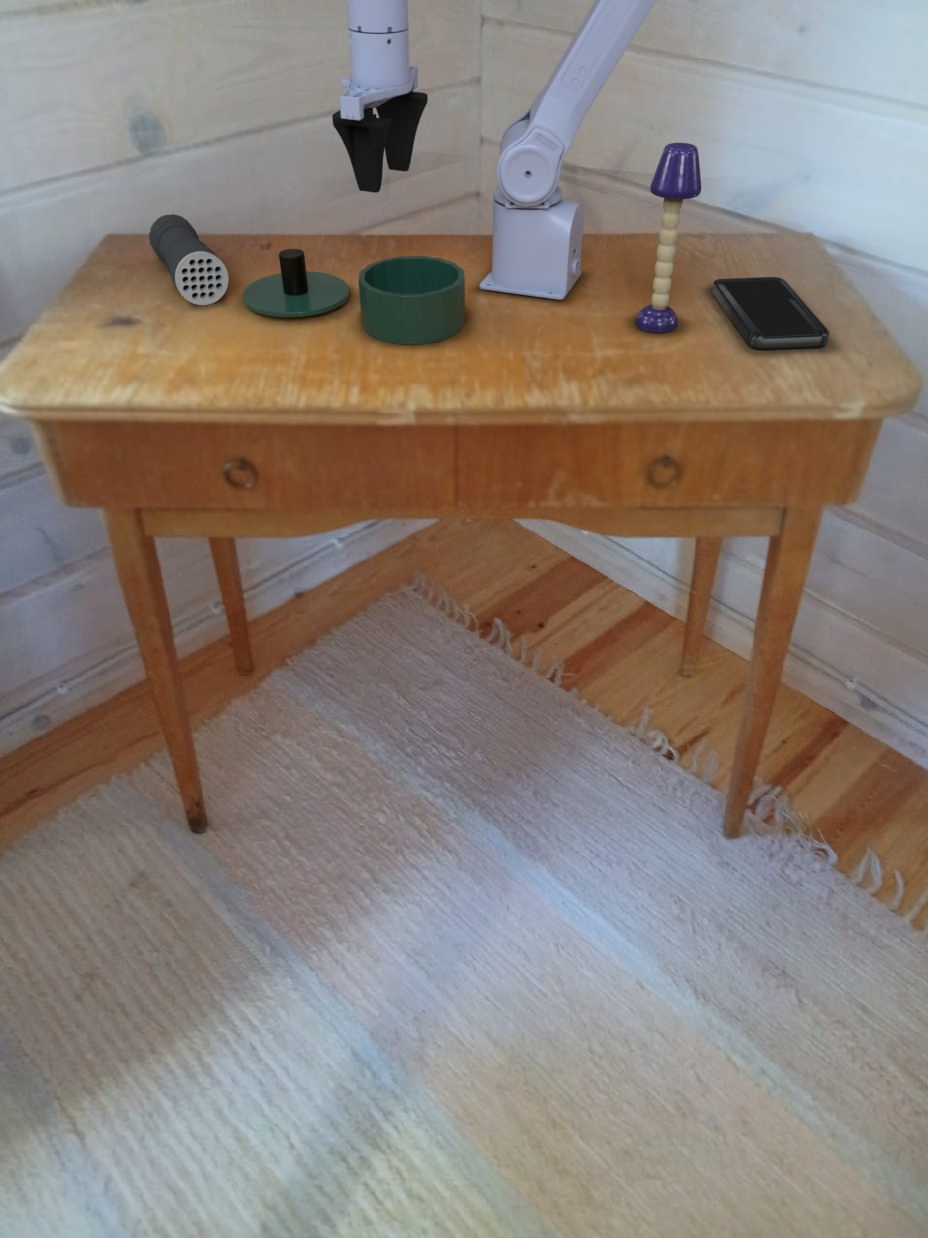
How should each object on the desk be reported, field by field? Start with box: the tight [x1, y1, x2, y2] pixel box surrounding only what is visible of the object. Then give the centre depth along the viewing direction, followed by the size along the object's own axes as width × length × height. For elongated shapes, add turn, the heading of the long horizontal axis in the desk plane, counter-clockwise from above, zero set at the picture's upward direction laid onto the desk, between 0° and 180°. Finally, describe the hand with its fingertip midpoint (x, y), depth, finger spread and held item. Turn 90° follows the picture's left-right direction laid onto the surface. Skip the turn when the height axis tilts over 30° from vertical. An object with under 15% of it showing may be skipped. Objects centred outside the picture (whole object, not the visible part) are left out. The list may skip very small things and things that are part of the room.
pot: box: [358, 255, 466, 346], centre depth 96 cm, size 10×10×5 cm
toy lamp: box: [634, 142, 702, 334], centre depth 91 cm, size 5×5×17 cm
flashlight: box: [148, 213, 229, 306], centre depth 104 cm, size 15×5×5 cm, turn 26°
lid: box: [241, 248, 350, 318], centre depth 100 cm, size 11×11×5 cm
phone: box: [711, 276, 830, 350], centre depth 97 cm, size 8×1×15 cm
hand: (384, 179), depth 99 cm, fingers open, 7 cm apart
